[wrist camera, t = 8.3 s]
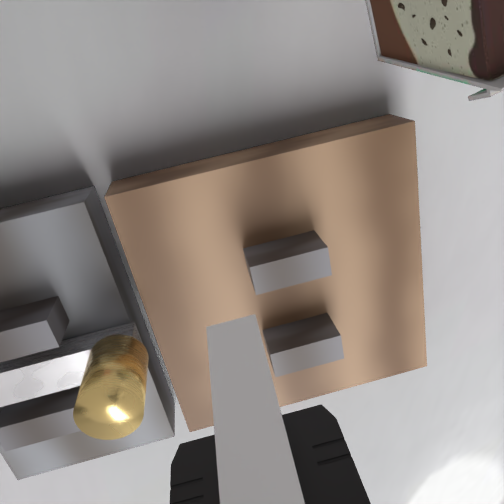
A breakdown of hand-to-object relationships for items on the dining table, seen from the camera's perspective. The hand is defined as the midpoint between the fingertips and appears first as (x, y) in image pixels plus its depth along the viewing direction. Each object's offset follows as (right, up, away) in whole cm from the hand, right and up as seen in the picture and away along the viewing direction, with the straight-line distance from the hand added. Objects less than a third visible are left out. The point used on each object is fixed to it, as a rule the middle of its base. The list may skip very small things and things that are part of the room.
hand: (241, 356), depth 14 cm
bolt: (-9, -2, +11) cm, 15 cm away
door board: (-3, +1, +14) cm, 15 cm away
